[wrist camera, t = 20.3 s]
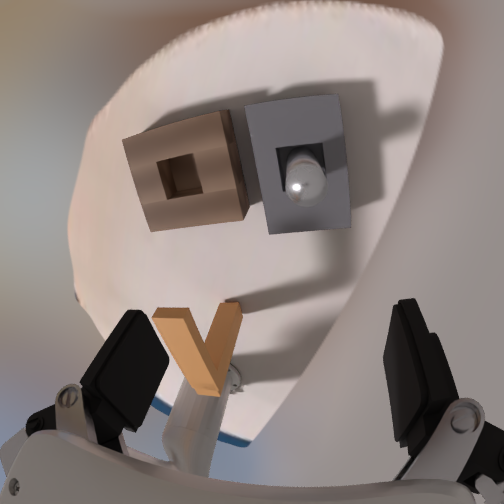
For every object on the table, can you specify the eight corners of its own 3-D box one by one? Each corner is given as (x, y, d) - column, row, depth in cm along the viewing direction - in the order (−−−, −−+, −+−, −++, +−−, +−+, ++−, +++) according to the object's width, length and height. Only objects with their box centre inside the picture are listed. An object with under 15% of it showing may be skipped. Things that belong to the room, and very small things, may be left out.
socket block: (249, 206, 34) (243, 220, 30) (164, 218, 37) (150, 232, 33) (229, 109, 28) (219, 110, 25) (139, 134, 31) (121, 139, 28)
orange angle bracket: (244, 316, 43) (222, 397, 31) (223, 317, 44) (196, 394, 31) (223, 240, 36) (183, 318, 24) (199, 242, 37) (151, 317, 25)
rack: (346, 212, 32) (351, 227, 29) (272, 219, 34) (269, 234, 31) (333, 94, 25) (338, 93, 22) (251, 105, 27) (244, 105, 24)
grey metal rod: (317, 174, 29) (329, 204, 21) (289, 177, 30) (288, 208, 21) (314, 145, 28) (325, 163, 19) (284, 149, 28) (282, 168, 20)
